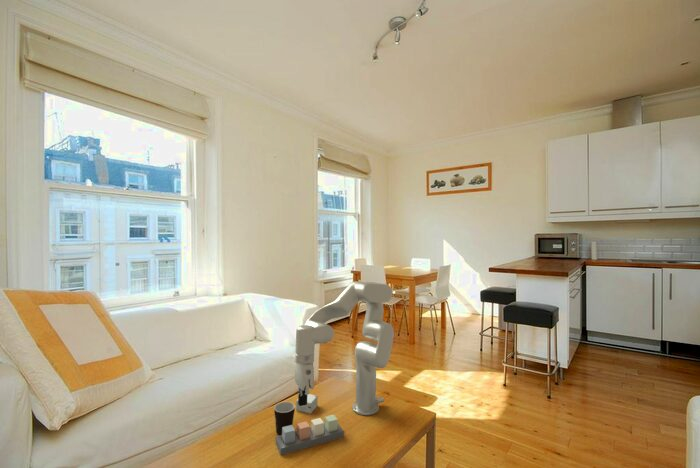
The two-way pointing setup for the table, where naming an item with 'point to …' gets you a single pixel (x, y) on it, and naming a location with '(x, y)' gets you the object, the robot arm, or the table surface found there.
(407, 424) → the table surface
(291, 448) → the keypad
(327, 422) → the key sage
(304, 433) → the key terracotta
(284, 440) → the key slate
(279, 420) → the coffee mug
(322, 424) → the key cream
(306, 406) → the small box
